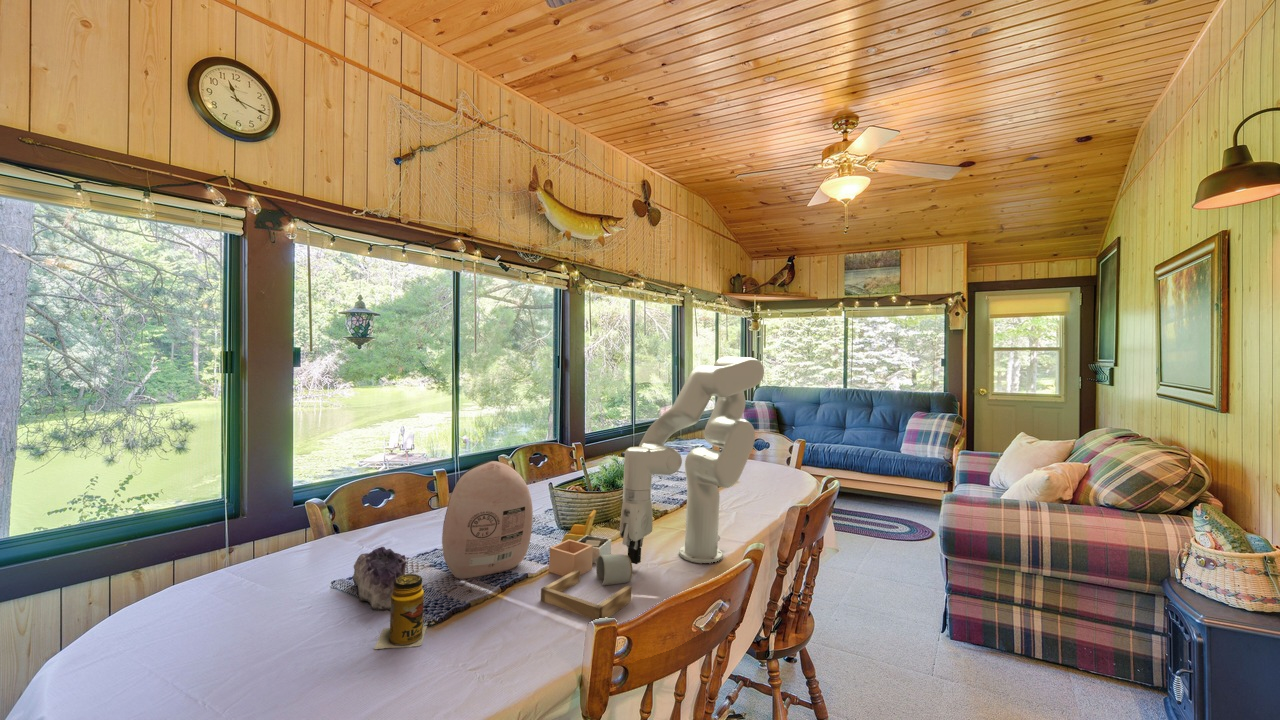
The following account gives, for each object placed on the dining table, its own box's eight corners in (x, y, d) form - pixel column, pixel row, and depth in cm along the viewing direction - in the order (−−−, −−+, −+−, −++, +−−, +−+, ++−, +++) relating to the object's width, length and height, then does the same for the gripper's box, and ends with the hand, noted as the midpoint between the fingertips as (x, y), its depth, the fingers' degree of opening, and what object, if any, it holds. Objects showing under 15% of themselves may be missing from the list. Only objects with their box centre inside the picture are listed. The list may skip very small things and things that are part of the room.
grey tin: (585, 551, 155) (586, 534, 155) (610, 556, 152) (611, 539, 152) (572, 561, 148) (573, 543, 148) (598, 566, 145) (599, 548, 145)
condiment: (421, 646, 104) (423, 585, 104) (373, 650, 102) (375, 587, 102) (427, 627, 111) (429, 569, 111) (383, 630, 109) (385, 572, 109)
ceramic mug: (633, 587, 134) (634, 557, 134) (603, 591, 131) (604, 561, 131) (619, 571, 143) (620, 544, 143) (591, 575, 140) (592, 547, 140)
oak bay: (575, 583, 134) (576, 569, 134) (631, 601, 126) (631, 586, 126) (540, 603, 123) (541, 588, 123) (598, 624, 115) (599, 608, 114)
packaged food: (514, 553, 152) (518, 448, 151) (541, 580, 135) (546, 462, 135) (434, 568, 140) (438, 454, 139) (453, 599, 123) (457, 470, 123)
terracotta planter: (567, 564, 146) (568, 539, 145) (591, 571, 142) (592, 545, 141) (548, 574, 139) (549, 547, 139) (573, 582, 135) (574, 555, 134)
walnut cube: (586, 553, 152) (587, 539, 152) (600, 554, 152) (600, 541, 152) (583, 559, 148) (584, 544, 148) (597, 560, 148) (598, 546, 148)
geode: (422, 603, 121) (417, 562, 120) (365, 624, 114) (360, 580, 113) (402, 568, 137) (398, 531, 136) (352, 584, 131) (347, 545, 129)
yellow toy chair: (567, 534, 170) (568, 505, 170) (596, 536, 169) (597, 507, 168) (557, 545, 160) (558, 515, 160) (588, 548, 158) (589, 518, 158)
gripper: (634, 502, 134) (631, 575, 134) (662, 490, 147) (659, 556, 147) (609, 497, 138) (606, 567, 138) (639, 486, 151) (636, 550, 151)
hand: (633, 562), depth 143 cm, fingers closed
